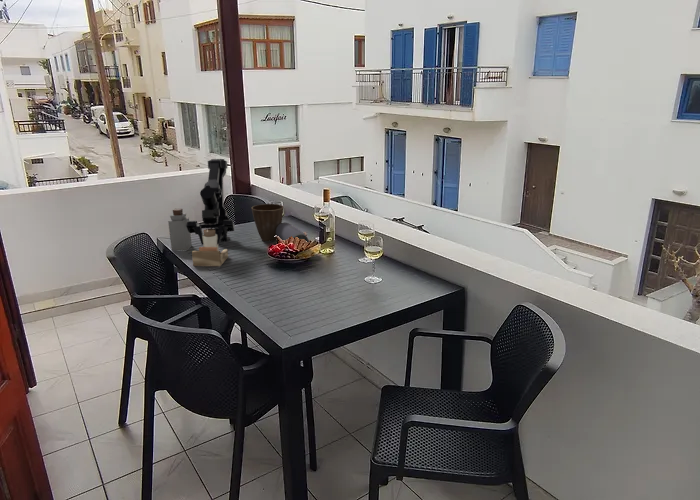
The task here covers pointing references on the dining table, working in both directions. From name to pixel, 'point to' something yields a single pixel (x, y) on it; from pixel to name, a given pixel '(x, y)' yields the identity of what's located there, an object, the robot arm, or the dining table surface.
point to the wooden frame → (209, 258)
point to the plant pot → (267, 220)
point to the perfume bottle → (179, 231)
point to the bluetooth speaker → (289, 232)
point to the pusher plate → (208, 249)
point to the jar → (210, 238)
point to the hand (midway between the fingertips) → (210, 244)
